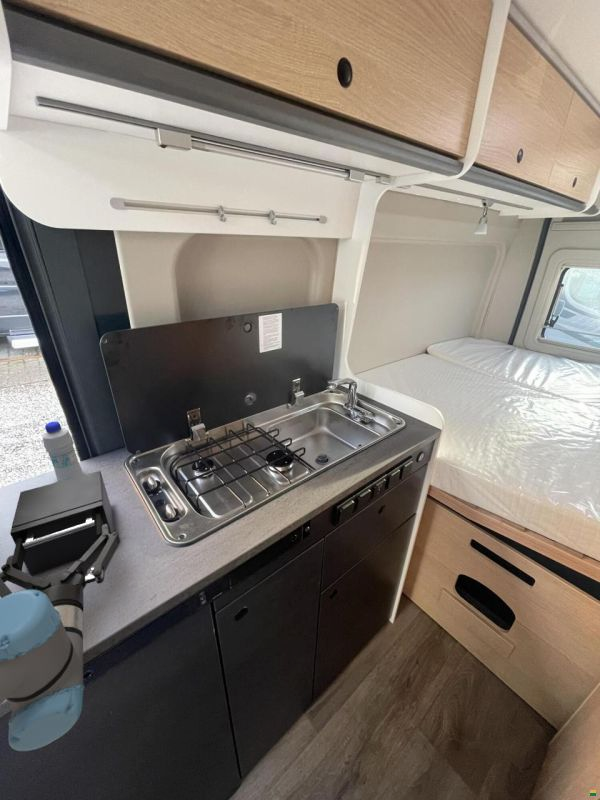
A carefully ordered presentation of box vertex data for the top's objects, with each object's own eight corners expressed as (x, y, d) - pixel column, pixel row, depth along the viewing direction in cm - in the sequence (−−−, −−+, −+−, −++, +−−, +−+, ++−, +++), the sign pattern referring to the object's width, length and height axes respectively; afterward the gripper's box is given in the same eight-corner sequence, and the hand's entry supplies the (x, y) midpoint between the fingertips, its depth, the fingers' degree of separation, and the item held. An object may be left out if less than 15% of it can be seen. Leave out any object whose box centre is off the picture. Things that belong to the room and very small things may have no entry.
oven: (115, 541, 78) (102, 499, 73) (32, 571, 71) (11, 527, 65) (112, 509, 88) (100, 470, 82) (38, 533, 80) (20, 491, 75)
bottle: (82, 485, 96) (63, 426, 88) (55, 490, 94) (33, 430, 86) (86, 471, 102) (68, 415, 94) (61, 476, 100) (40, 419, 91)
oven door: (116, 556, 75) (103, 513, 69) (29, 589, 67) (6, 544, 62) (115, 541, 78) (102, 500, 73) (32, 571, 71) (11, 528, 65)
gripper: (-40, 680, 48) (-8, 568, 64) (144, 597, 60) (131, 521, 76) (-63, 651, 45) (-24, 541, 61) (135, 569, 56) (124, 496, 73)
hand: (62, 530), depth 69 cm, fingers open, 13 cm apart
